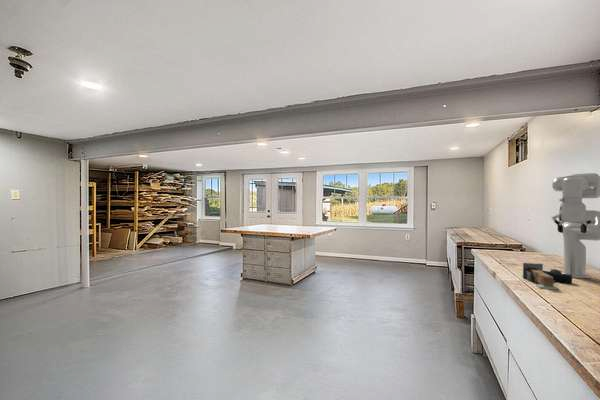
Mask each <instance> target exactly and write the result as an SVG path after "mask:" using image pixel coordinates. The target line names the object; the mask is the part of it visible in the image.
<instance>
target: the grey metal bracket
mask: <svg viewBox="0 0 600 400" xmlns="http://www.w3.org/2000/svg"><path fill="white" fill-rule="evenodd" d="M543 267H544V266H543V263H536V262H535V263H534V262H530V263H529V262H522V279H525V280H527V281H528V282H530V283H537V282H536V281H535V280H533V279H532V273H531V272H530V269H537V270H540V271H542V272H543V271H544V269H543Z"/></svg>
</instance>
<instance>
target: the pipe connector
mask: <svg viewBox="0 0 600 400" xmlns="http://www.w3.org/2000/svg"><path fill="white" fill-rule="evenodd" d="M561 271H562V270H559V269H555V268H554V269H550V271H548V270H543V272H544V273H546V274H548V275H550V276H552V277H553V282H558V283H562V284H569V285H572V283H573V277H572V275H568V274H562V273H561Z"/></svg>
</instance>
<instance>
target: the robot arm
mask: <svg viewBox="0 0 600 400" xmlns="http://www.w3.org/2000/svg"><path fill="white" fill-rule="evenodd" d="M552 189H553V191H554V192H562V194H561V195H562V198H559V202H562V203H561V204H560V206H559V211H558V214H556V215H553V216H551V217H550V218H551V219H552V221H553V223H555V224H556V225H557V232H559V233H560V234H561V233H562V237H563V266H562V269H563V270H560V271H561V273H562V274H568V275H572V278H575V279H576V278H577V279H590V275H589V274H587V273H586V272H587V247H586V245H585V244H584V243H583V242H582V241H597V242H598V241H600V210H589V209H587V206H586V204H585V203H584V202H583V199H598V198H600V175H599V174H598V173H596V172H589V173H587V172H586V173H573V174H571V175H566V176H558V177H555V178H554V179H553V181H552ZM557 219H558V220H557Z"/></svg>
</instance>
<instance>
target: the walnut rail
mask: <svg viewBox="0 0 600 400" xmlns="http://www.w3.org/2000/svg"><path fill="white" fill-rule="evenodd" d="M530 272H531V273H532V279H533V280H535V281H536V282H535V283H537V284H541V285H543V286H548V287H553V285H554V281H553V277H552V276H550V275H548V274H546V273H544V272H542V271H540V270H537V269H530Z"/></svg>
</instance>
